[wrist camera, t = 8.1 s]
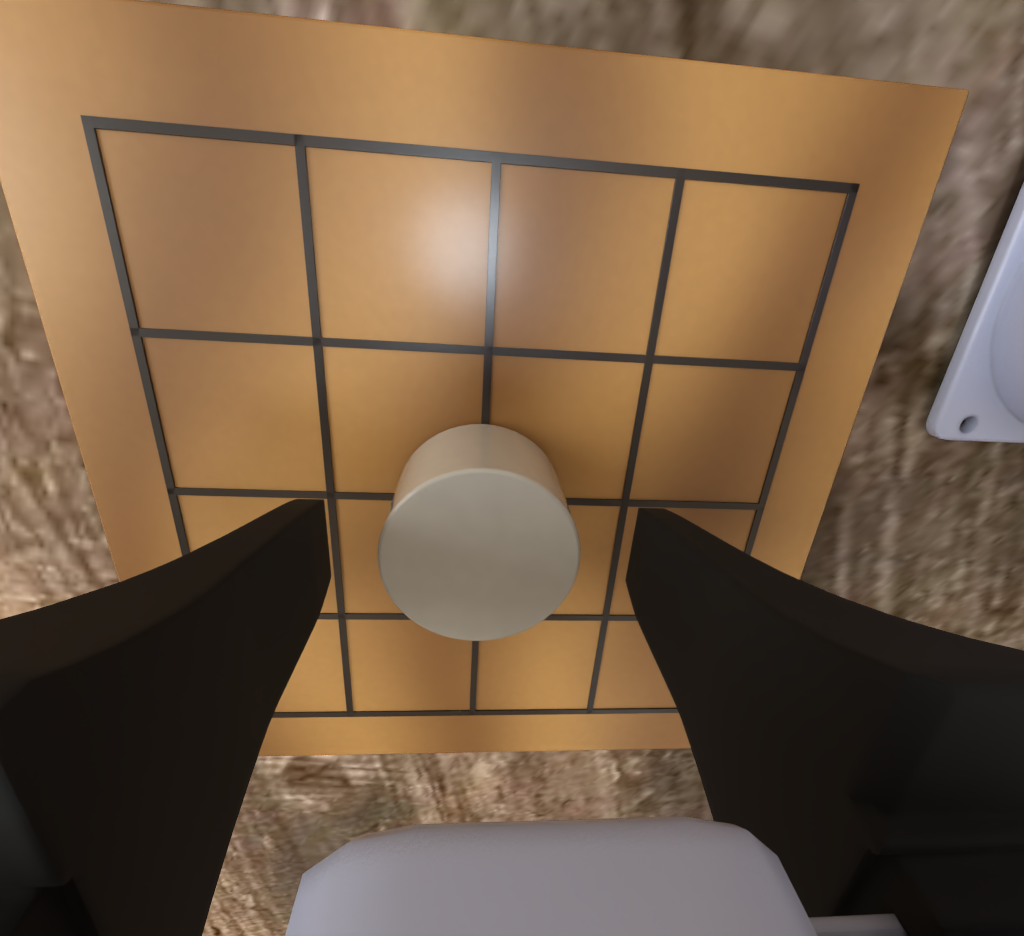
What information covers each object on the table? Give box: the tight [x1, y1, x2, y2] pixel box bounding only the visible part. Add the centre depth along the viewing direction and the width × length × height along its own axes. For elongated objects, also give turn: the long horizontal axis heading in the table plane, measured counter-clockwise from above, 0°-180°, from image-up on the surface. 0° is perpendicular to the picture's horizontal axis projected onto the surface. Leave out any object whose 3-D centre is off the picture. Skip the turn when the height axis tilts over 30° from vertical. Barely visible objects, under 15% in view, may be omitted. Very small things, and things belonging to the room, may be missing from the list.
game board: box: [0, 0, 969, 756], centre depth 14 cm, size 20×20×1 cm
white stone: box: [377, 424, 581, 641], centre depth 12 cm, size 4×4×3 cm
